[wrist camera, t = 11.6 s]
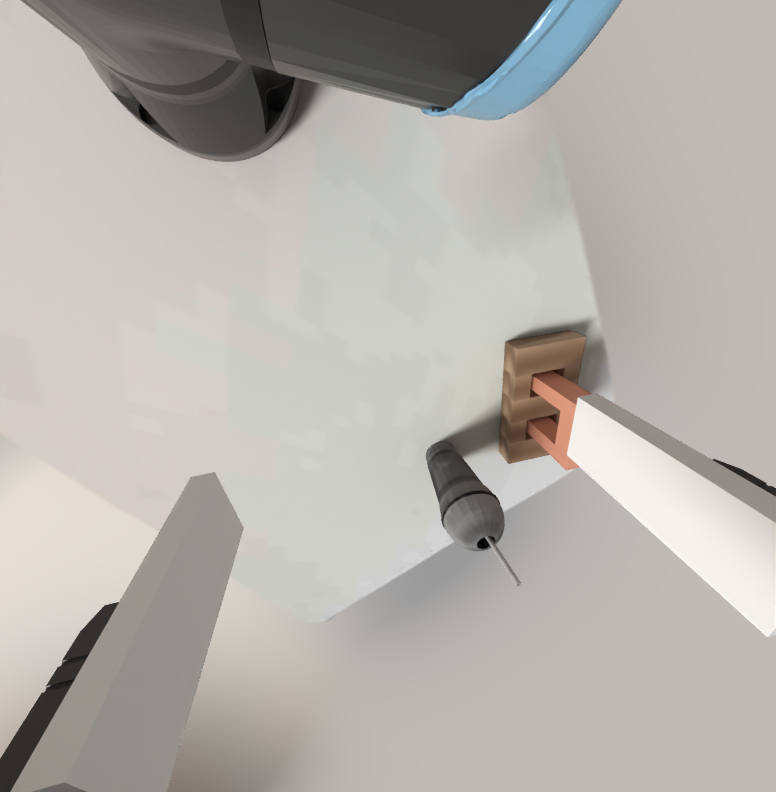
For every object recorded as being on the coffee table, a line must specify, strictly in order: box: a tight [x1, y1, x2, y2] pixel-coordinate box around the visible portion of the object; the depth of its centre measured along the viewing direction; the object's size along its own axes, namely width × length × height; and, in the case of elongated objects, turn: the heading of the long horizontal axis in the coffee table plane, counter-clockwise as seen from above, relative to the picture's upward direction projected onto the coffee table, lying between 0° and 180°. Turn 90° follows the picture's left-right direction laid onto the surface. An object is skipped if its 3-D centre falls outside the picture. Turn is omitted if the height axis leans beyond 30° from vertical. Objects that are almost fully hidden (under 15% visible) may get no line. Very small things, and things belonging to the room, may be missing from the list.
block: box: [526, 370, 591, 470], centre depth 40 cm, size 9×3×10 cm, turn 7°
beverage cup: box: [426, 442, 521, 586], centre depth 38 cm, size 7×7×20 cm
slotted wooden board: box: [499, 330, 586, 464], centre depth 43 cm, size 18×9×3 cm, turn 7°
